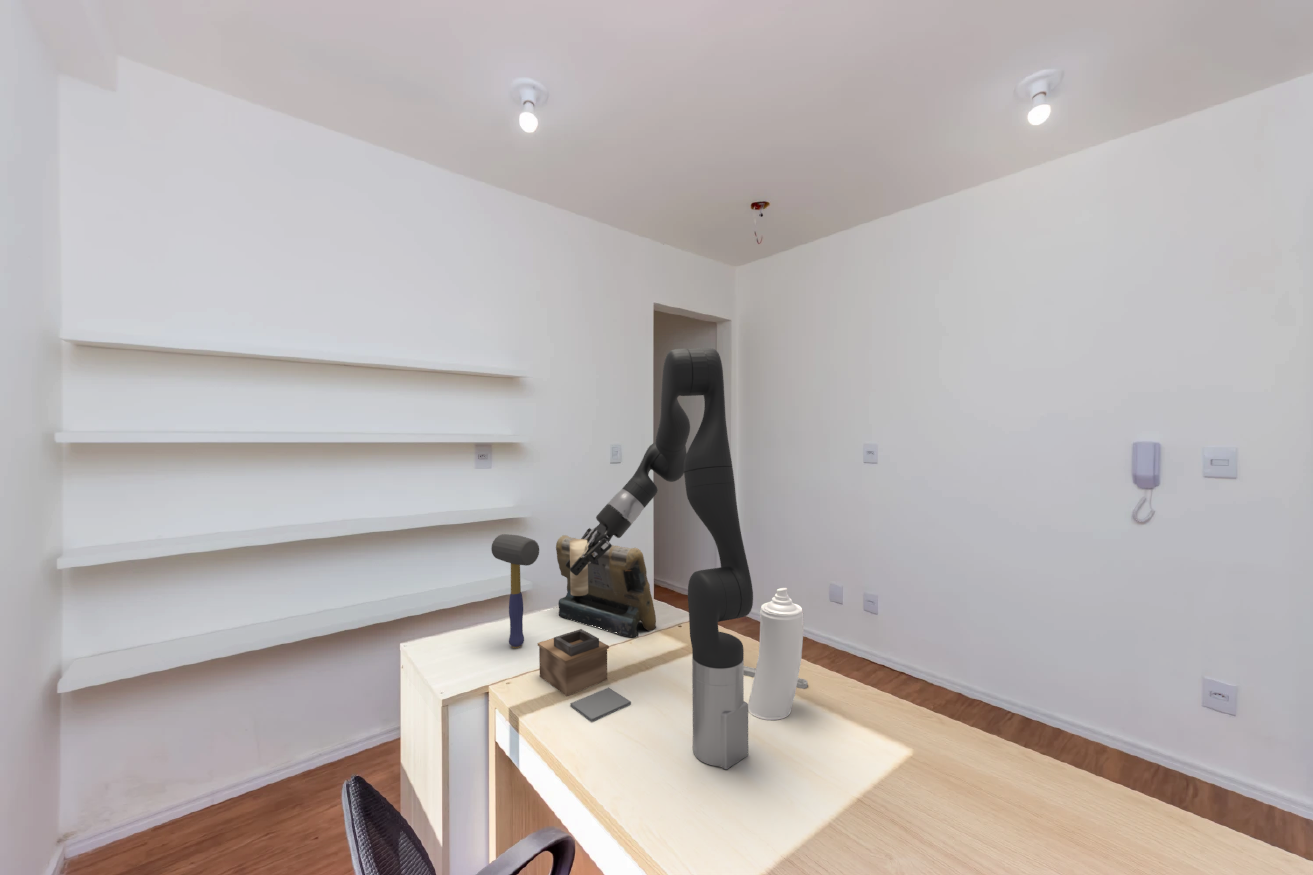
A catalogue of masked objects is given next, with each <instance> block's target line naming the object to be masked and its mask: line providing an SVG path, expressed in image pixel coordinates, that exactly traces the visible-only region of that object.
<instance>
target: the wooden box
mask: <svg viewBox="0 0 1313 875" xmlns="http://www.w3.org/2000/svg"><path fill="white" fill-rule="evenodd" d="M537 646H538V648H539V649H538V650H539V652H538V654H539V656H538V659H539V663H538V664H539V677H540V678H541V679H543V680H544V681H545V682H547V683H548V685H550V686H552V688H555V689H556V690H558V691H559V692H560V693H561V694H563V695H564V696H566V697H568V696H571V695H573V694H576V693H578V692H580V691H583V690H586V689H588V688H591V687H593V686H595V685H598V684H601V683H603V682H605V681H608V649H610V645H608V644H606V643H604V642H603V641H600V637H597V636H595V635H594V634H592V633H590V632H588V631H586V630H584V629H582V628H580V629H576V630H574V631H571V632H567V633H564V634H560V635H558V636H554V637H553V638H548V639H546V640H543V641H539V642H537Z"/></svg>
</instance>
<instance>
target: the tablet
mask: <svg viewBox="0 0 1313 875" xmlns="http://www.w3.org/2000/svg"><path fill="white" fill-rule="evenodd" d="M574 539H577V538H576V537H571V536H568V535H566V534H565V535H564V534H563V535H561V536H560V537H559V538H558V539H557V540H556V545H555V551H556V559H557V564H558V569H559V571H560V575H561V576H562V577H565V578H566V582H567V584H566V590H567V592H566V595H565V596H564V597H560V598H559V599H558V616H559V617H561V618H565V619H567V618H568V619H567V620H570V619H572V620H571V621H573V620H575V621H574V622H576V621H578V622H577V623H579V622H581V623H580V624H582V623H584V624H583V625H585V624H587V625H586V626H589V625H593V626H596V627H600V628H602V629H605V630H608V631H607V632H609V631H610V632H609V633H612V632H617V633H618V634H617V635H619V634H620V636H624V637H626V638H627V637H628V638H637V637H638V635H639V633H638V630H637V626H638V624H639V622H641V623H642V626H643V628H644V629H645V630H647V631H649V632H651V631H653V630H655V629H656V627H657V625H656V624H657V617H656V610H655V606H654V600H653V596H652V594H651V588H650V587H651V586H650V583H649V581H648V576H647V575H648V574H647V573H648V572H647V567H646V563H645V557H644V553H643V552H642V551H641V549H639V548H638V547H631V548H630V547H623V546H619V545H613V544H611V545H612V546H611V548H610V549H609V550H608V551H606V552H605V553H604V554H603V555H602V556H601V557H600V558H599V559H598V560H597V561H596V562H594V563H592V562H591V563H588V594H586V595H583V596H573V595H571V587H570V569H569V568H568V567H566V565H565V564H566V562H567V561H568V560H569V559H570V541H571V540H574ZM591 555H592V554H591ZM602 629H601V630H602ZM605 630H604V631H605Z"/></svg>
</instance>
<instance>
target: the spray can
mask: <svg viewBox="0 0 1313 875" xmlns="http://www.w3.org/2000/svg"><path fill="white" fill-rule="evenodd" d="M760 606H761V607H760V610H759V617H760V618H759V619H760V624H759V644H758V645H759V646H758V656H757V662H756V666H755V668H756V671H755V676H754V677H753V682H752V686H751V691H750V695H749V698H748V702H747V703H748V713H750V714H751V716H753V717H755V718H758V719H761V720H767V721H777V720H782V719H785V718H786V717H788V716H789V715H790V714H791V712H792V709H793V708H792V707H793V704H794V701H795V700H794V699H795V696H796V691H797V687H796V686H797V681H798V678H799V674H800V668H801V665H802V664H801V663H802V654H803V642H804V640H803V639H804V630H805V629H804V628H805V622H804V621H805V620H804V613H803V608H802V607H801V605H799V604H797V603H794V602H793V599H792V598H790V595H789V594H788V588H787V587H780V588H778V589H776V593H775V594H774V596H773V597H771V600H770V601H768V602H765V603H762V604H761V605H760Z"/></svg>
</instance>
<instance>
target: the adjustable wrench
mask: <svg viewBox="0 0 1313 875" xmlns="http://www.w3.org/2000/svg"><path fill="white" fill-rule="evenodd" d="M755 671H756V667H751V666H746V665H744V676H746V677H751V678H754V676H755ZM797 688H798V689H803V690H805V689H807V688H808V680H807V679H805V678H801V677H798V681H797V686H796V689H797Z"/></svg>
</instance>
